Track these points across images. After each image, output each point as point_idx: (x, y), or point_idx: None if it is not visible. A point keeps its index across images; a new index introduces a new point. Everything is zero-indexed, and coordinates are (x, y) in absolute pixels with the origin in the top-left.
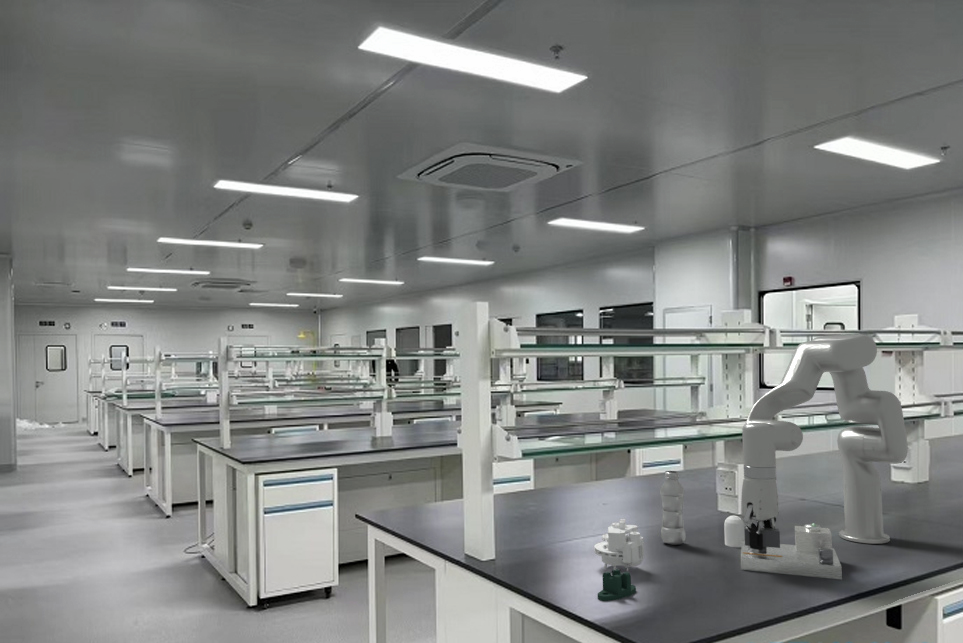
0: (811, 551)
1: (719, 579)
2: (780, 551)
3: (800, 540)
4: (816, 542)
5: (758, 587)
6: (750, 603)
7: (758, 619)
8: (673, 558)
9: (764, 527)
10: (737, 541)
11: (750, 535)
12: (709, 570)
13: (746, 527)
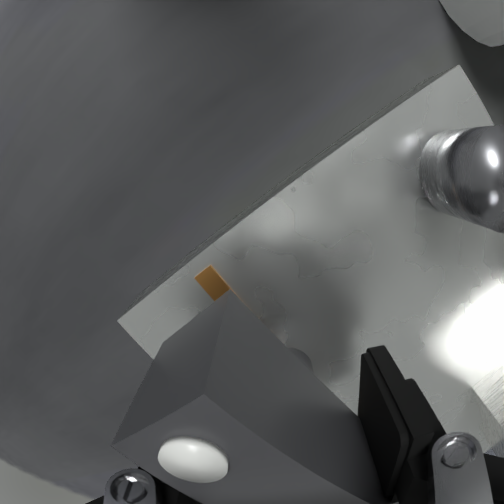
0: (482, 419)
1: (7, 314)
2: (426, 363)
3: (499, 428)
4: (501, 452)
5: (76, 424)
6: (15, 438)
7: (6, 459)
8: (36, 12)
9: (410, 469)
10: (476, 18)
11: None
12: (23, 217)
13: (156, 456)
